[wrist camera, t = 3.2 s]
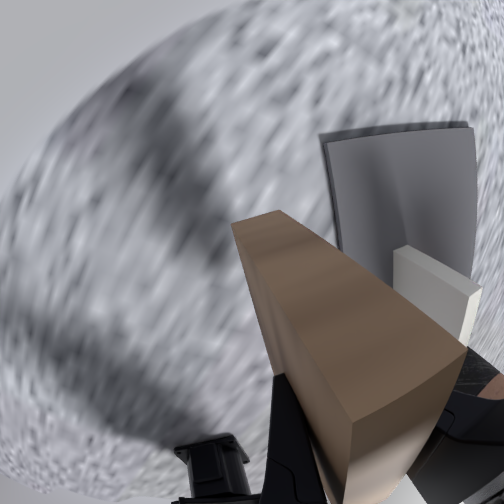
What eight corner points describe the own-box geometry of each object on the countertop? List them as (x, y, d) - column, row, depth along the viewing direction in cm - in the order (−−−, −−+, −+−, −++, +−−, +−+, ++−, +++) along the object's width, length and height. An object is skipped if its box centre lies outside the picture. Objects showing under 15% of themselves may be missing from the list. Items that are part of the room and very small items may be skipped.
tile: (404, 321, 22) (458, 371, 15) (390, 328, 21) (444, 381, 15) (408, 244, 19) (482, 286, 12) (393, 250, 19) (469, 296, 12)
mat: (460, 311, 25) (463, 313, 24) (347, 376, 23) (349, 380, 23) (469, 127, 17) (473, 127, 17) (323, 143, 15) (326, 143, 15)
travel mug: (411, 372, 26) (509, 485, 8) (455, 324, 26) (563, 420, 7) (424, 389, 29) (503, 482, 11) (461, 349, 29) (548, 431, 10)
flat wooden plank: (308, 366, 15) (386, 498, 6) (275, 378, 14) (339, 521, 6) (279, 209, 11) (468, 348, 3) (230, 223, 11) (352, 423, 3)
